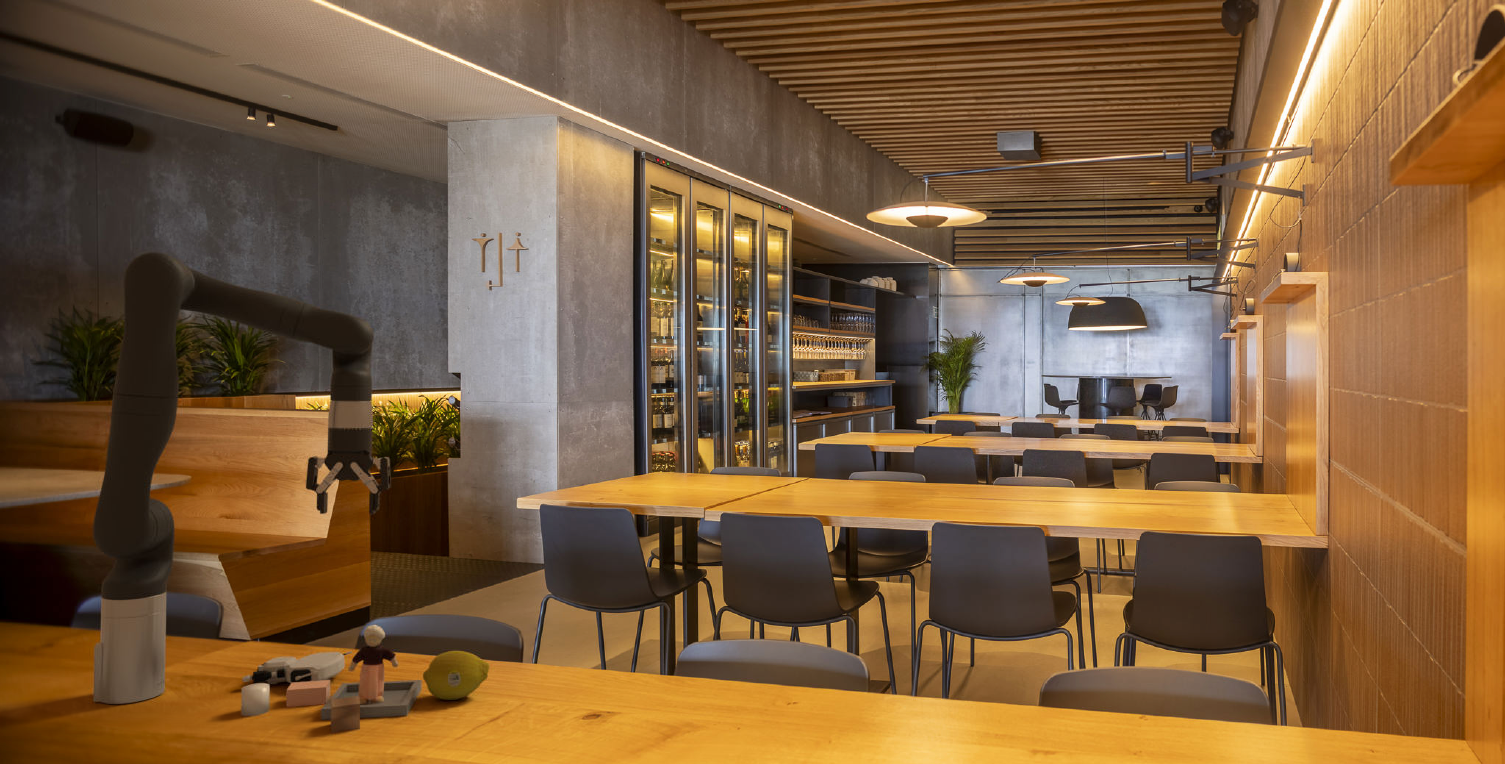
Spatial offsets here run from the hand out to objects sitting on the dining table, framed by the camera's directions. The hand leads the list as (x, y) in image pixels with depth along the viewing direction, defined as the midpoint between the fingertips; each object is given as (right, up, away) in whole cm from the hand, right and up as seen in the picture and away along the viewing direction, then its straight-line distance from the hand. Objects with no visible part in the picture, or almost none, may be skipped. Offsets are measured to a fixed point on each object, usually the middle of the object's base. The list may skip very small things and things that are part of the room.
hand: (348, 513), depth 168 cm
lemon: (+24, -30, -12) cm, 40 cm away
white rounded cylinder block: (-6, -29, -20) cm, 36 cm away
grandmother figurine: (+11, -29, -16) cm, 35 cm away
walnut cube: (+11, -30, -26) cm, 41 cm away
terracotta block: (0, -30, -15) cm, 33 cm away
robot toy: (-7, -30, -4) cm, 31 cm away
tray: (+11, -30, -16) cm, 35 cm away
